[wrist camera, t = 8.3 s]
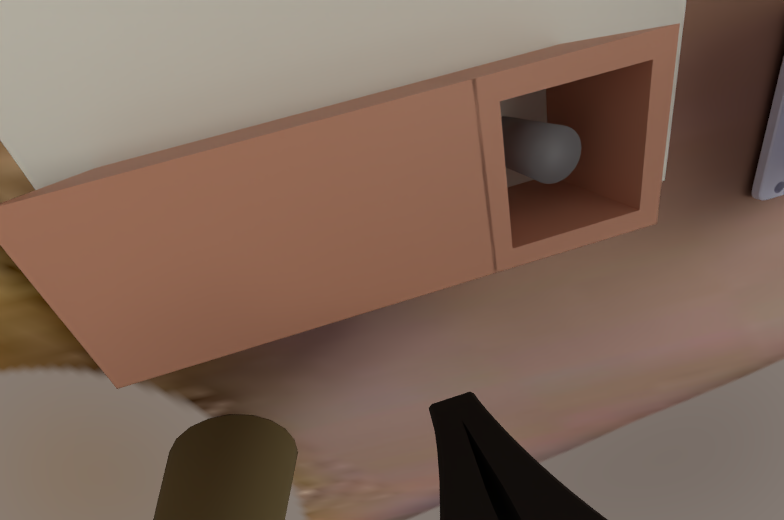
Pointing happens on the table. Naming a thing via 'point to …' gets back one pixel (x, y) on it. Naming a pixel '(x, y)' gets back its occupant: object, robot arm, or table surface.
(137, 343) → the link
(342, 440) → the table surface
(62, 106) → the board
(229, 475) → the cork
